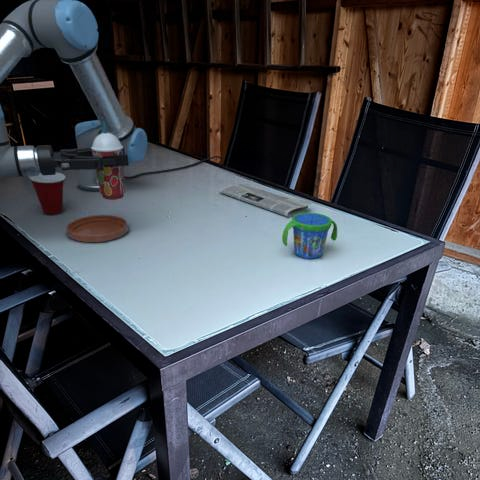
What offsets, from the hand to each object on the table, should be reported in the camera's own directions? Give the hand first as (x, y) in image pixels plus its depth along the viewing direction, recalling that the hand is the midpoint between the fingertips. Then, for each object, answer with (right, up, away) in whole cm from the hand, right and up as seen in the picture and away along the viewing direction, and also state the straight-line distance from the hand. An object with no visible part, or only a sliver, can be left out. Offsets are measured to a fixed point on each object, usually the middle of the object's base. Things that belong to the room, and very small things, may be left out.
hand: (126, 156), depth 131 cm
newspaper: (+40, -3, +38) cm, 56 cm away
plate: (-11, -19, +11) cm, 24 cm away
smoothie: (-5, -10, +5) cm, 12 cm away
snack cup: (+50, -27, 0) cm, 57 cm away
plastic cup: (-30, -10, +25) cm, 40 cm away
